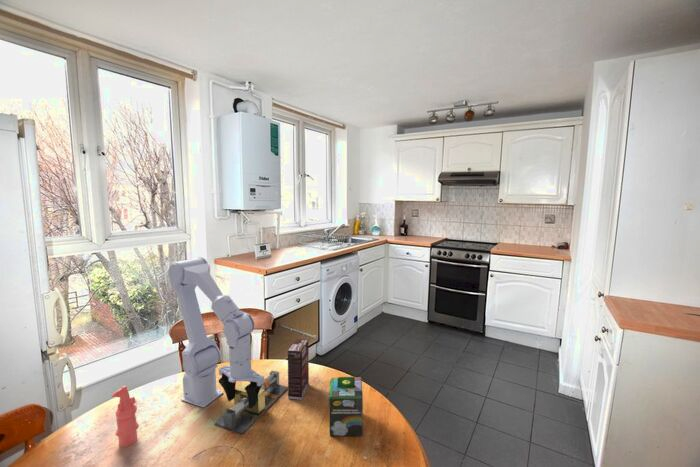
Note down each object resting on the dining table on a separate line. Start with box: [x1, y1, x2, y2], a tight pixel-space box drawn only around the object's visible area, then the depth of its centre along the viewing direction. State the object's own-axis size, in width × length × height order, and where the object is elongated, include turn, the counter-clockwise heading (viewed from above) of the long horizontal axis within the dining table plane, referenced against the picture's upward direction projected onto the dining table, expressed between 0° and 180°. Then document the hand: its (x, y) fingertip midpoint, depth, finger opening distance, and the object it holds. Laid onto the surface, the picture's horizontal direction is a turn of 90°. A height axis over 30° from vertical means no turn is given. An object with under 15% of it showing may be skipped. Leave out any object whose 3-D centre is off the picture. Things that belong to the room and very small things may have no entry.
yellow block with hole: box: [233, 382, 265, 414], centre depth 94 cm, size 3×9×6 cm, turn 68°
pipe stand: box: [214, 370, 288, 435], centre depth 96 cm, size 22×10×5 cm, turn 158°
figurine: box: [111, 385, 140, 448], centre depth 81 cm, size 5×5×15 cm
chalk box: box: [328, 376, 364, 437], centre depth 87 cm, size 9×9×15 cm
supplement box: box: [287, 338, 310, 401], centre depth 102 cm, size 9×5×16 cm, turn 173°
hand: (242, 402), depth 91 cm, fingers open, 7 cm apart
